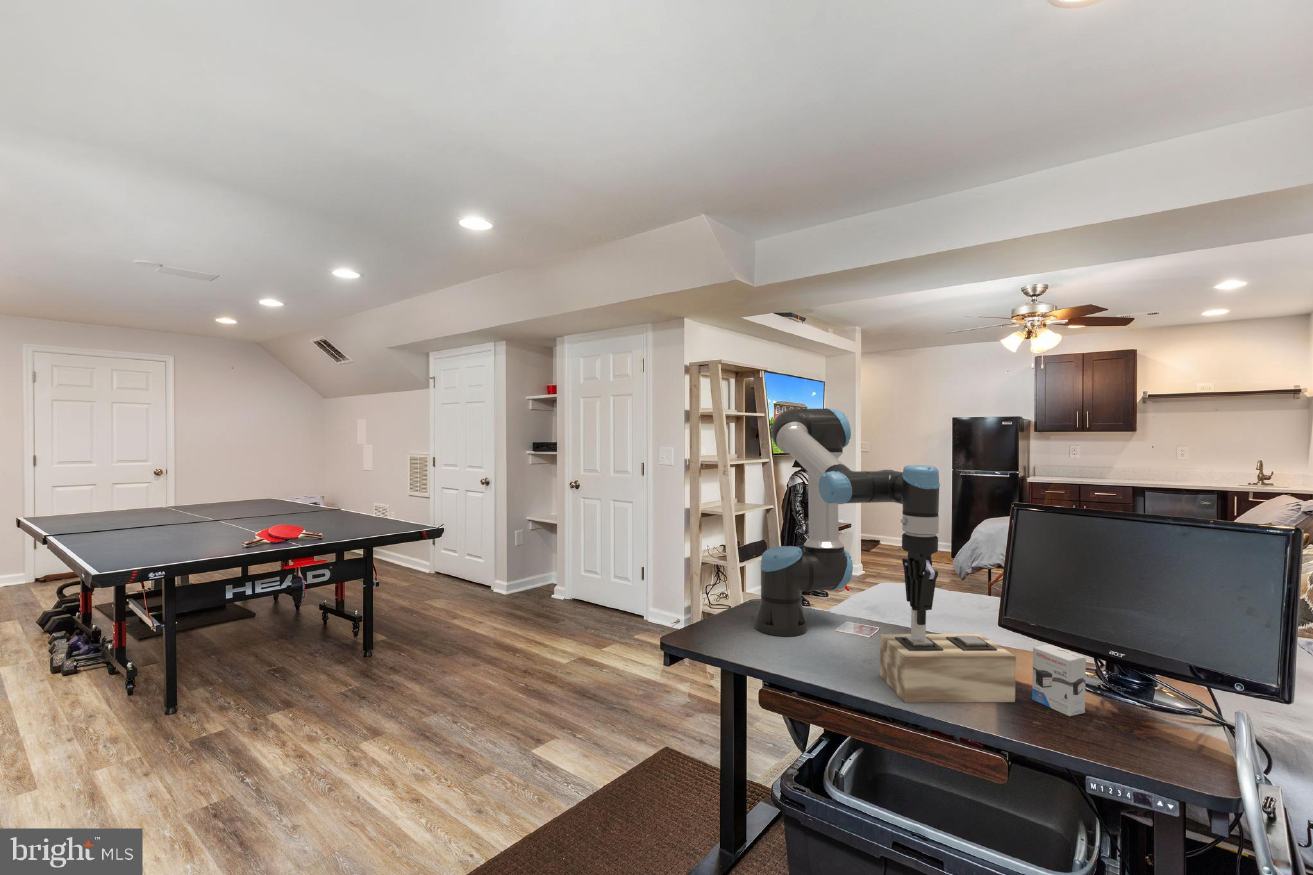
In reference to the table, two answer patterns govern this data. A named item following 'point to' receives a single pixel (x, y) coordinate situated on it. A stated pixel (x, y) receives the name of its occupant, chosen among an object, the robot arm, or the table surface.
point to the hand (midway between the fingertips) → (918, 637)
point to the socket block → (947, 670)
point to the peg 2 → (970, 641)
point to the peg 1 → (918, 642)
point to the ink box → (1059, 679)
